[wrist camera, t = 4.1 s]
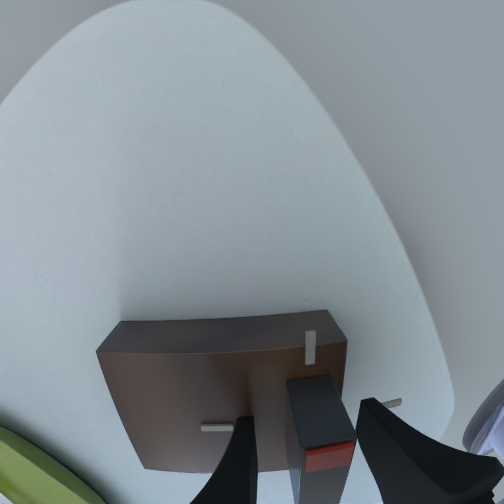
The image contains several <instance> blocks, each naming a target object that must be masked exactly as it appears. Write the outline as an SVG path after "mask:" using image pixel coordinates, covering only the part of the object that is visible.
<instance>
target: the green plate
mask: <svg viewBox="0 0 504 504" xmlns="http://www.w3.org/2000/svg"><path fill="white" fill-rule="evenodd" d="M0 493H1V494H2V495H4V496H5V497H6V498H7V499H8V500H10V501H11V502H12V503H13V504H106V503H105V502H104V501H103V500H102V499H101V497H100V496H99V495H98V494H97V493H96V492H94V491H93V490H92V489H91V488H90V487H89V486H88V485H87V484H85V483H84V482H83V481H82V480H81V479H79V478H78V477H77V476H76V475H75V474H73V473H72V472H71V471H69V470H68V469H67V468H66V467H64V466H63V465H61V464H60V463H59V462H57V461H56V460H55V459H53V458H52V457H51V456H49V455H48V454H46V453H45V452H43V451H42V450H40V449H39V448H38V447H36V446H35V445H33V444H31V443H30V442H28V441H27V440H25V439H23V438H22V437H20V436H18V435H17V434H15V433H13V432H11V431H9V430H7V429H5V428H3V427H0Z"/></svg>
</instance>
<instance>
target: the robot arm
mask: <svg viewBox="0 0 504 504" xmlns="http://www.w3.org/2000/svg"><path fill="white" fill-rule="evenodd" d="M355 431H356V434H357V438H358V442H359V445H360V448H361V450H362V453H363V455H364V457H365V459H366V461H367V464H368V466H369V468H370V470H371V472H372V474H373V476H374V479H375V481H376V483H377V485H378V488H379V490H380V494H381V497H382V500H383V504H495V503H494V501H493V500H492V498H493V497H494V493H493V492H492V490H493V488H494V487H495V486H496V485H497V484H498V482H499V481H500V480H501V478H502V477H503V476H504V467H503V465H502V464H501V463H500V461H499V460H498V459H497V458H496V457H490V456H483V455H481V454H483V453H485V452H487V451H488V450H490V449H492V448H494V449H495V451H496V452H497V453H498V454H499V456H500V457H501V458H502V459H503V461H504V404H503V406H502V408H501V410H500V412H499V414H498V416H497V418H496V420H495V422H494V423H493V425H492V427H491V429H490V431H489V433H488V435H487V436H486V438H485V440H484V442H483V443H482V445H481V447H480V448H479V450H478V452H477V454H473V453H468V452H464V451H461V450H457V449H455V448H452V447H449V446H447V445H444V444H442V443H440V442H438V441H435V440H433V439H431V438H429V437H428V436H426V435H424V434H422V433H421V432H419V431H417V430H416V429H414V428H413V427H411V426H410V425H408V424H407V423H406V422H404V421H403V420H401V419H400V418H399V417H397V416H396V415H395V414H394V413H392V412H391V411H390V410H389V409H387V408H386V407H385V406H384V405H382V404H381V403H380V402H379V401H378V400H376V399H375V398H374V397H373V398H368V399H364V400H361V403H360V408H359V414H358V419H357V424H356V429H355ZM257 480H258V456H257V444H256V435H255V426H254V417H253V416H240V417H238V418H236V423H235V427H234V431H233V434H232V436H231V439H230V442H229V444H228V446H227V448H226V451H225V453H224V455H223V457H222V459H221V461H220V463H219V464H218V466H217V468H216V470H215V471H214V473H213V475H212V476H211V478H210V479H209V480H208V482H207V483H206V485H205V486H204V487H203V489H202V490H201V491H200V492H199V494H198V495H197V496H196V497H195V498H194V500H193V501H192V502H191V503H190V504H256V501H257ZM497 504H504V499H502V500H501V501H499V502H498V503H497Z"/></svg>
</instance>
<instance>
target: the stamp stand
mask: <svg viewBox="0 0 504 504" xmlns="http://www.w3.org/2000/svg"><path fill="white" fill-rule="evenodd" d="M346 352H347V338H346V337H345V335H344V334H343V332H342V331H341V329H340V328H339V326H338V325H337V323H336V322H335V320H334V319H333V317H332V316H331V314H330V313H329V311H328V310H322V311H312V312H302V313H292V314H280V315H268V316H255V317H240V318H224V319H204V320H177V321H120V322H119V323H118V324H117V325H116V327H115V328H114V329H113V330H112V332H111V333H110V334H109V335H108V336H107V338H106V339H105V340H104V341H103V342H102V344H101V345H100V346H99V347H98V349H97V350H96V354H97V357H98V360H99V363H100V366H101V369H102V372H103V375H104V378H105V381H106V383H107V386H108V389H109V391H110V394H111V397H112V399H113V402H114V404H115V407H116V409H117V411H118V414H119V416H120V419H121V421H122V423H123V425H124V428H125V430H126V432H127V434H128V436H129V439H130V441H131V443H132V445H133V447H134V449H135V451H136V453H137V455H138V457H139V459H140V461H141V463H142V465H143V467H144V468H145V469H150V470H159V471H170V472H184V473H211V474H213V473H214V471H215V470H216V468H217V466H218V464H219V463H220V461H221V459H222V457H223V455H224V453H225V451H226V448H227V446H228V444H229V442H230V439H231V436H232V434H233V431H234V427H235V423H236V418H238V417H240V416H253V417H254V426H255V435H256V444H257V456H258V472H269V471H280V470H289V466H288V460H287V417H286V381H288V380H296V379H304V378H311V377H318V376H325V375H331V378H332V380H333V382H334V384H335V386H336V389H337V391H338V393H339V396H340V398H341V396H342V389H343V380H344V372H345V362H346ZM401 402H402V399H401V398H399V399H395V400H391V401H387V402H383V403H381V404H382V405H384V406H385V407H386V408H387V409H388V408H391V407H395V406H399V405H401Z"/></svg>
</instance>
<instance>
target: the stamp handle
mask: <svg viewBox="0 0 504 504" xmlns="http://www.w3.org/2000/svg"><path fill="white" fill-rule="evenodd" d="M286 417H287V460H288V466H289V472H290V478H291V484H292V490H293V496H294V502H295V504H339V503H340V499H341V496H342V493H343V490H344V487H345V483H346V480H347V476H348V473H349V469H350V465H351V461H352V458H353V454H354V449H355V445H356V441H357V434H356V432H355V430H354V427H353V425H352V423H351V421H350V418H349V416H348V414H347V411H346V409H345V407H344V405H343V402H342V400H341V398H340V396H339V393H338V391H337V389H336V386H335V384H334V382H333V380H332V378H331V375H325V376H318V377H311V378H304V379H296V380H288V381H286Z"/></svg>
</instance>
